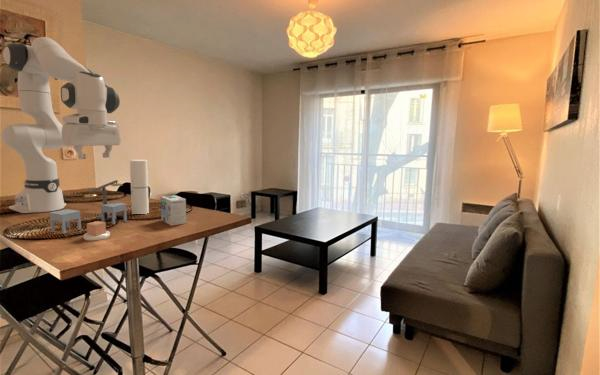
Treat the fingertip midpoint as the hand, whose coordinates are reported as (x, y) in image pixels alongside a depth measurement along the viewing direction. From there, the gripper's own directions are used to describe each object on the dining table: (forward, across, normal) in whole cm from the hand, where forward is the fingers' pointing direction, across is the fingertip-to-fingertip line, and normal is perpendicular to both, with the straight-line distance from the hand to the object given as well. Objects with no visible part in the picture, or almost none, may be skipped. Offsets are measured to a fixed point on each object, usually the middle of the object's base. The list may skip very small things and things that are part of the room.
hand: (94, 158), depth 113 cm
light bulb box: (+28, -23, +15) cm, 39 cm away
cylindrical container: (+28, -28, -8) cm, 40 cm away
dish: (+28, +5, +5) cm, 29 cm away
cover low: (+28, +5, -10) cm, 30 cm away
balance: (+28, -14, -13) cm, 34 cm away
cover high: (+28, -12, -6) cm, 31 cm away
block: (+26, +5, +5) cm, 27 cm away
